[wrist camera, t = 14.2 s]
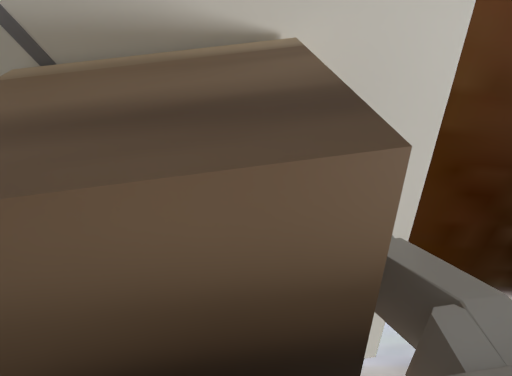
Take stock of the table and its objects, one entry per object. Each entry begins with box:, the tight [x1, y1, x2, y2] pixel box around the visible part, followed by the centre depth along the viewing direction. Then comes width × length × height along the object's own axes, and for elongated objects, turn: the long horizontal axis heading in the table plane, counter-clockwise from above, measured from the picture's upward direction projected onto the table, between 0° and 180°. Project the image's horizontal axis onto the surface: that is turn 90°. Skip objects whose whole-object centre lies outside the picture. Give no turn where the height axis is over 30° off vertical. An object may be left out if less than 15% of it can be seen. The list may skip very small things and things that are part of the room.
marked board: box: [0, 0, 476, 359], centre depth 11 cm, size 22×14×2 cm, turn 4°
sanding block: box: [0, 37, 412, 376], centre depth 8 cm, size 10×6×5 cm, turn 5°
